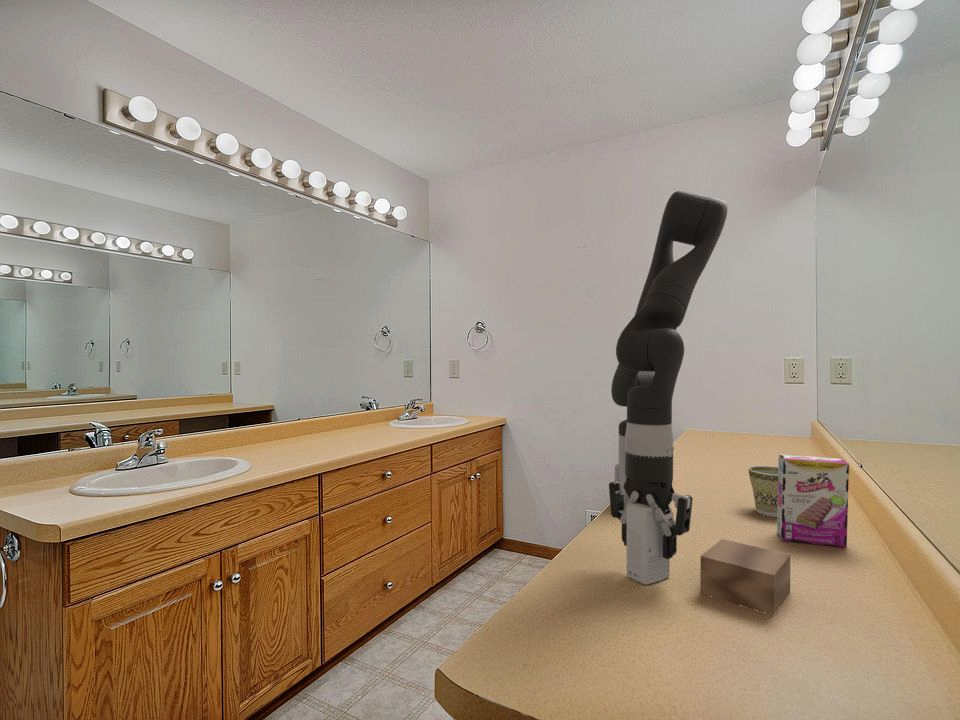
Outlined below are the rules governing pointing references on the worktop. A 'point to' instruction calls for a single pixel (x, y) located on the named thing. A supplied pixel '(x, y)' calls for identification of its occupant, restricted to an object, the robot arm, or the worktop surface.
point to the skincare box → (645, 546)
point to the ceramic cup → (765, 489)
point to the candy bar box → (813, 500)
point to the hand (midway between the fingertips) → (648, 551)
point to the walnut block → (746, 575)
